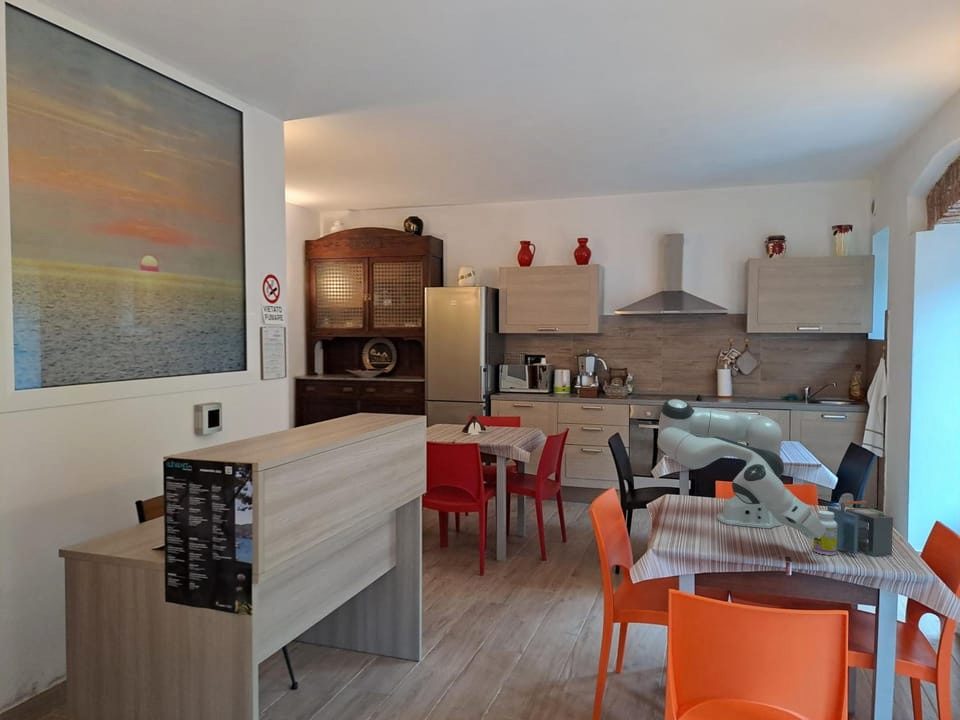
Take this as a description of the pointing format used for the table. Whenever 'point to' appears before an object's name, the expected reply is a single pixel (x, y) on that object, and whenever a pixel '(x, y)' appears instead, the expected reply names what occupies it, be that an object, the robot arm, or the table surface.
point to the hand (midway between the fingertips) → (811, 536)
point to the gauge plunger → (848, 528)
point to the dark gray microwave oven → (875, 531)
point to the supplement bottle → (826, 535)
